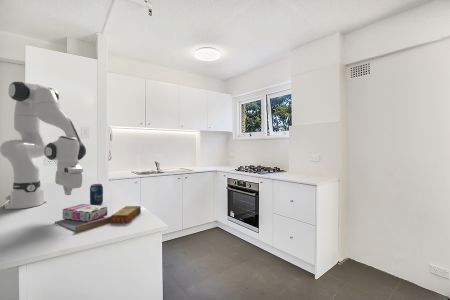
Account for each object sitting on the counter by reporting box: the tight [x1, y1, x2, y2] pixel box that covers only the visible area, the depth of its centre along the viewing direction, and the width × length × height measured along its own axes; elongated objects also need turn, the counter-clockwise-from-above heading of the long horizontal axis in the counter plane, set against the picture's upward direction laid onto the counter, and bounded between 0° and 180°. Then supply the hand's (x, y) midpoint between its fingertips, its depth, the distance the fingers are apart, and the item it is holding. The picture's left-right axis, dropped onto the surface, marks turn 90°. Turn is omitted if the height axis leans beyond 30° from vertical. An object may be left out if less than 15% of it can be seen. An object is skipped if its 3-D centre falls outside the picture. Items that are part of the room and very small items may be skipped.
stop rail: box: [74, 215, 111, 233], centre depth 100 cm, size 1×16×2 cm, turn 149°
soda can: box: [89, 183, 104, 206], centre depth 135 cm, size 7×7×12 cm
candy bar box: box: [62, 203, 108, 222], centre depth 109 cm, size 11×5×16 cm
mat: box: [54, 216, 106, 232], centre depth 105 cm, size 19×16×1 cm
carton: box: [110, 205, 142, 224], centre depth 112 cm, size 8×16×4 cm, turn 0°
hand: (67, 194), depth 112 cm, fingers closed
